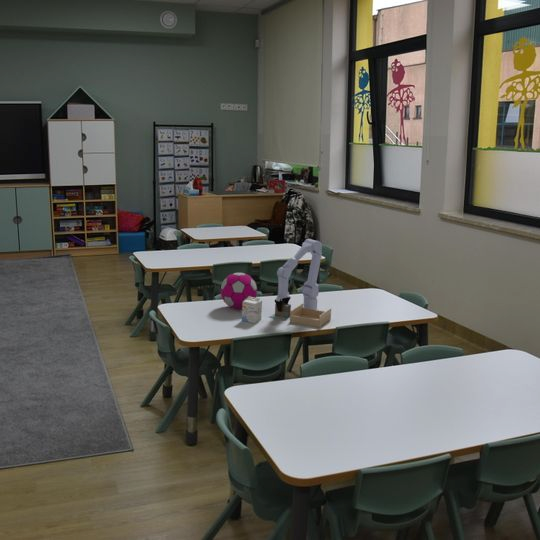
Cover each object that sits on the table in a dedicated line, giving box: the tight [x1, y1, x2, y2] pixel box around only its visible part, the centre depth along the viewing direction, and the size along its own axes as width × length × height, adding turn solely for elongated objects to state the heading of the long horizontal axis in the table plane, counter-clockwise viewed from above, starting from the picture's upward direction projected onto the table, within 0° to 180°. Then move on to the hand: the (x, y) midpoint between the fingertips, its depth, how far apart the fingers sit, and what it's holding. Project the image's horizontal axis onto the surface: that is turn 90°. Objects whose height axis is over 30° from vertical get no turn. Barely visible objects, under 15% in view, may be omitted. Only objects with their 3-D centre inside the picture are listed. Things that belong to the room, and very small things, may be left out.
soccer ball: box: [220, 272, 258, 310], centre depth 408 cm, size 22×22×22 cm
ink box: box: [241, 296, 263, 324], centre depth 386 cm, size 9×8×13 cm
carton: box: [289, 303, 332, 328], centre depth 389 cm, size 18×18×7 cm
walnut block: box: [274, 303, 292, 318], centre depth 396 cm, size 4×8×7 cm, turn 65°
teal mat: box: [269, 313, 290, 321], centre depth 397 cm, size 11×11×1 cm
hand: (282, 310), depth 396 cm, fingers open, 7 cm apart
